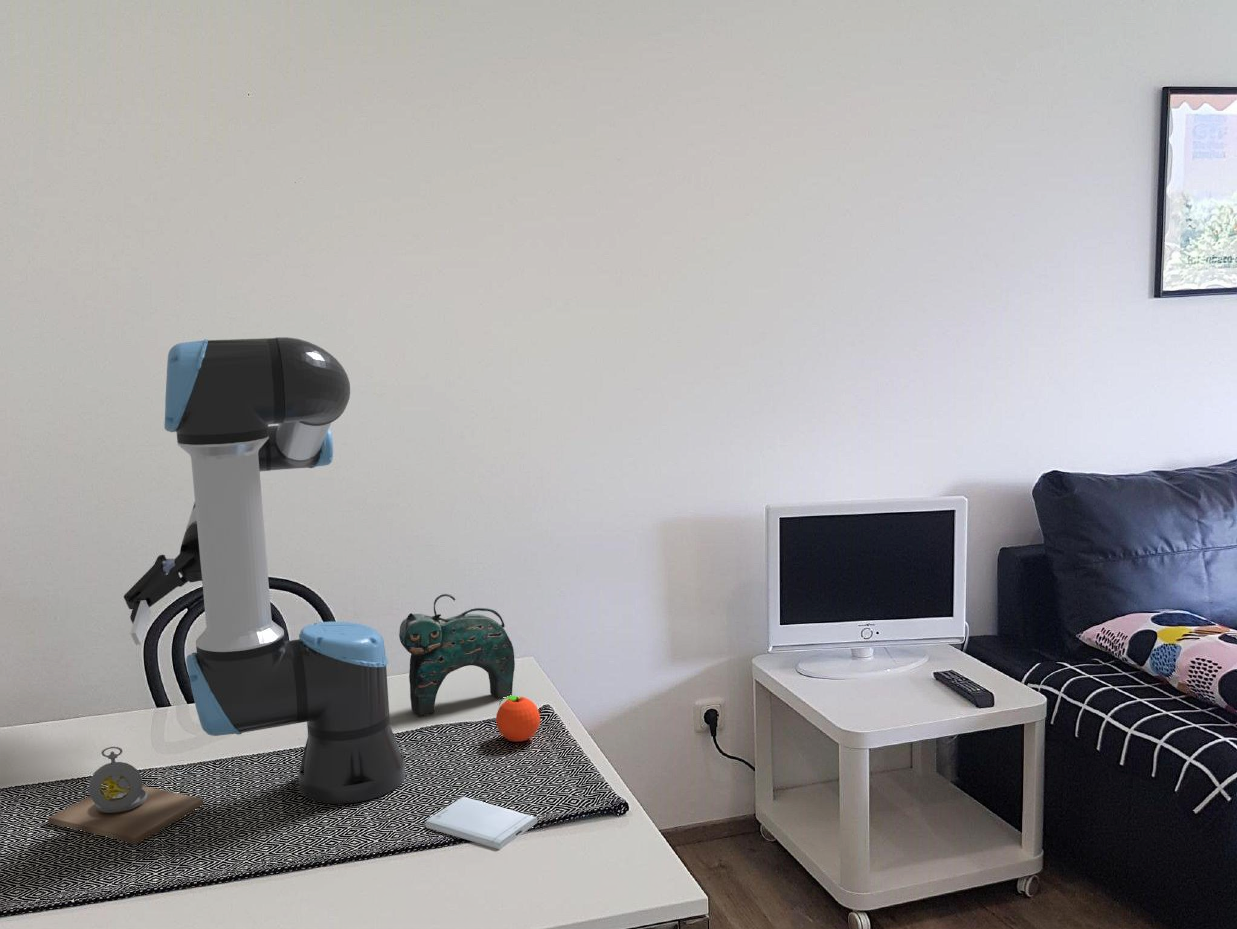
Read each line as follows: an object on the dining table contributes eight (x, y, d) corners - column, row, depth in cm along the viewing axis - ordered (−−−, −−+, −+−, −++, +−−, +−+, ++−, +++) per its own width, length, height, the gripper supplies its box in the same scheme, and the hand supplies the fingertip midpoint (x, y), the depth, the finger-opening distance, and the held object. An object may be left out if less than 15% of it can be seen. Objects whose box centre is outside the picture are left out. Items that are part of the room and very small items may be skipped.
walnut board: (203, 805, 156) (202, 798, 156) (135, 845, 146) (134, 838, 145) (120, 787, 163) (119, 781, 163) (49, 824, 152) (48, 817, 152)
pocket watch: (133, 789, 160) (126, 723, 158) (163, 805, 154) (156, 737, 153) (75, 811, 154) (68, 742, 152) (105, 828, 148) (97, 757, 147)
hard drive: (425, 820, 148) (499, 841, 142) (464, 795, 155) (537, 814, 148) (425, 831, 148) (500, 853, 142) (465, 806, 155) (537, 826, 149)
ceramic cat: (410, 722, 185) (403, 605, 182) (398, 709, 190) (391, 596, 187) (520, 698, 194) (515, 586, 191) (505, 687, 200) (500, 578, 197)
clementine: (483, 739, 177) (481, 696, 175) (515, 726, 182) (513, 684, 180) (517, 752, 171) (515, 708, 170) (550, 738, 176) (548, 695, 175)
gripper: (290, 546, 186) (271, 645, 170) (139, 557, 185) (105, 657, 169) (280, 514, 182) (259, 612, 166) (125, 525, 180) (88, 625, 164)
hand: (181, 635), depth 167 cm, fingers open, 13 cm apart
